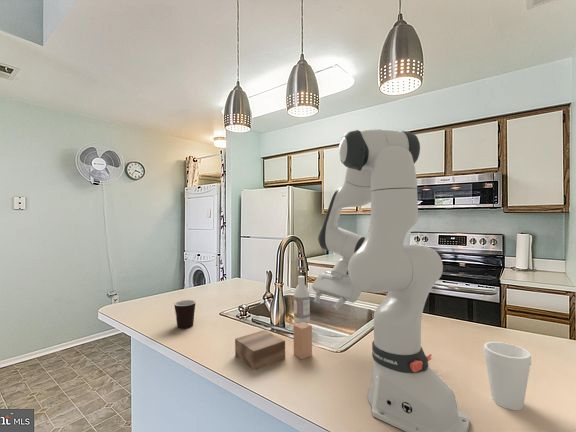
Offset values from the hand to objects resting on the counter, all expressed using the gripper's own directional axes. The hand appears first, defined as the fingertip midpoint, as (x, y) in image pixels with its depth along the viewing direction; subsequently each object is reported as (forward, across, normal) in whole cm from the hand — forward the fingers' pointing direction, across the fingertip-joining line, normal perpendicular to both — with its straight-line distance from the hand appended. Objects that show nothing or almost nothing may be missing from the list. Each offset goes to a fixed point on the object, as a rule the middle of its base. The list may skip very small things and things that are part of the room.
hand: (324, 305), depth 107 cm
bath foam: (+4, -24, +17) cm, 30 cm away
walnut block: (+26, -8, -6) cm, 28 cm away
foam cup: (+2, +51, +19) cm, 55 cm away
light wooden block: (+18, 0, +3) cm, 18 cm away
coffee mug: (+33, -53, -12) cm, 63 cm away
